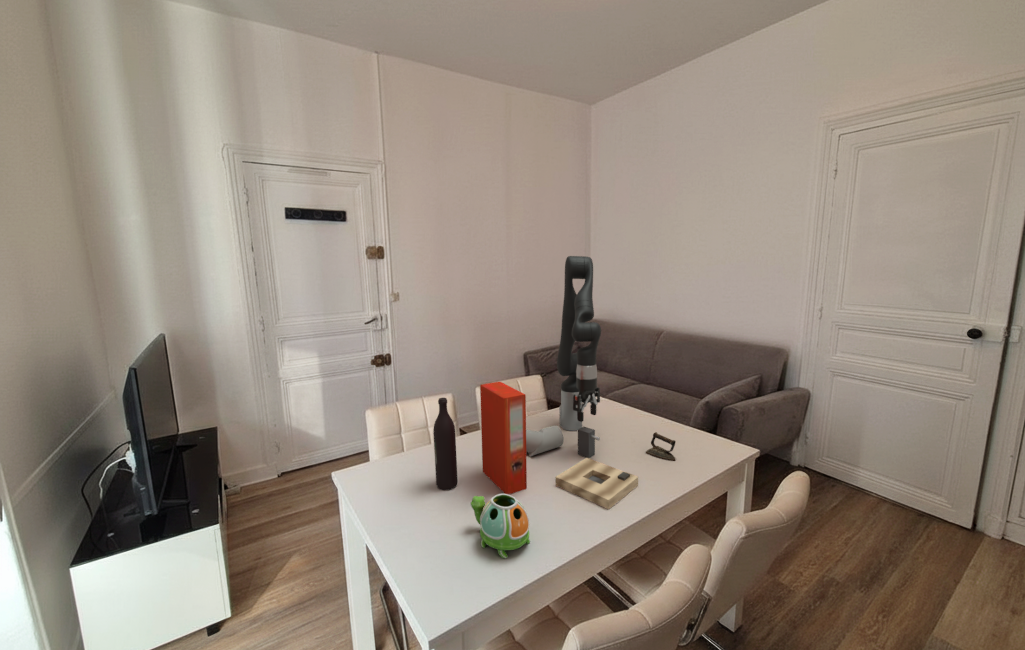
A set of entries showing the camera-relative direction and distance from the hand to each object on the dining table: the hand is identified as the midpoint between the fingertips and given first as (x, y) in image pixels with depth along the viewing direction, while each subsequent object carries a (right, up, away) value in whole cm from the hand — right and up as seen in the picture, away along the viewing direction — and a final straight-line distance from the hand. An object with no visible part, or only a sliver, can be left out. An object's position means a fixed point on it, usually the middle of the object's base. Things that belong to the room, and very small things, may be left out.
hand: (587, 417), depth 154 cm
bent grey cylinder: (-20, -15, +9) cm, 26 cm away
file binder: (-31, -18, -15) cm, 39 cm away
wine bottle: (-50, -19, -17) cm, 56 cm away
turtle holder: (-31, -23, -45) cm, 59 cm away
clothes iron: (+28, -15, 0) cm, 32 cm away
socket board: (0, -18, -19) cm, 26 cm away
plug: (+1, -15, +1) cm, 15 cm away
